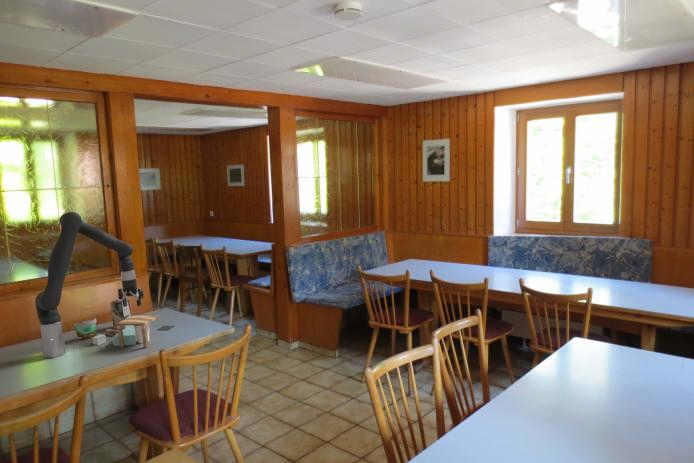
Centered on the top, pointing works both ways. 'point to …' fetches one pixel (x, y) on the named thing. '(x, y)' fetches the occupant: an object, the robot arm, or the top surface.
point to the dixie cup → (139, 332)
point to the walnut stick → (111, 332)
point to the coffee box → (120, 312)
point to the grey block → (99, 339)
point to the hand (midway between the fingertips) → (132, 306)
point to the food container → (86, 329)
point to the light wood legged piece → (136, 320)
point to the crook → (126, 337)
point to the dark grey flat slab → (165, 328)
